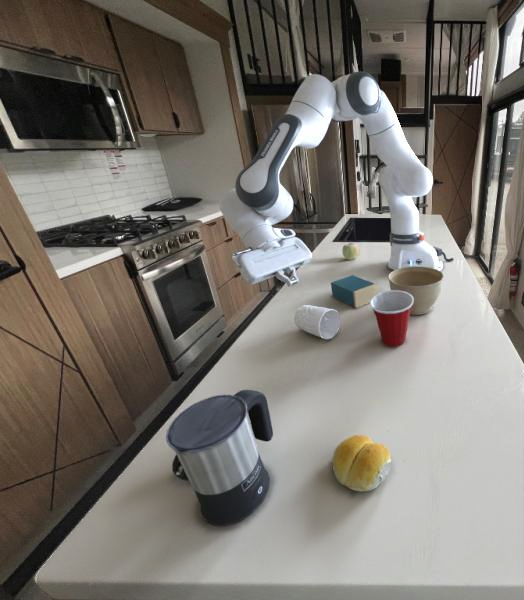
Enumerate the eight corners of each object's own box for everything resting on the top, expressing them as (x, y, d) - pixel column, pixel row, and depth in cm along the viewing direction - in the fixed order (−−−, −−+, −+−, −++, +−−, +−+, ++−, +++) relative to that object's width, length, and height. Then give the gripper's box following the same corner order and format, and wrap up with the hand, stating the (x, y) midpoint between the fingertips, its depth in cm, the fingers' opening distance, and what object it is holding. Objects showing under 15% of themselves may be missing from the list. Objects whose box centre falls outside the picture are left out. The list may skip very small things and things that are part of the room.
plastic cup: (363, 343, 82) (359, 301, 77) (389, 326, 90) (388, 286, 85) (396, 358, 76) (395, 314, 71) (422, 338, 84) (422, 296, 79)
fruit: (358, 261, 140) (357, 243, 137) (342, 261, 140) (340, 243, 137) (361, 255, 147) (359, 238, 144) (344, 256, 147) (343, 238, 144)
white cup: (318, 315, 93) (344, 322, 88) (301, 336, 89) (328, 345, 84) (305, 296, 88) (332, 303, 83) (286, 318, 84) (313, 326, 79)
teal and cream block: (330, 282, 106) (354, 292, 98) (352, 274, 112) (377, 283, 104) (332, 297, 108) (356, 308, 100) (354, 288, 114) (378, 298, 106)
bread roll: (355, 436, 56) (353, 419, 54) (398, 461, 52) (398, 443, 50) (321, 473, 50) (317, 455, 48) (366, 504, 45) (364, 486, 44)
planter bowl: (419, 292, 109) (419, 262, 105) (453, 310, 98) (455, 276, 93) (379, 306, 101) (377, 273, 96) (411, 327, 89) (410, 291, 84)
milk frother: (258, 525, 43) (231, 447, 37) (135, 536, 42) (85, 458, 36) (284, 438, 56) (267, 369, 50) (190, 445, 55) (160, 376, 49)
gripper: (230, 246, 78) (264, 292, 77) (297, 228, 93) (326, 266, 92) (224, 261, 82) (257, 304, 81) (289, 241, 97) (317, 277, 96)
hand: (294, 284), depth 87 cm, fingers closed
